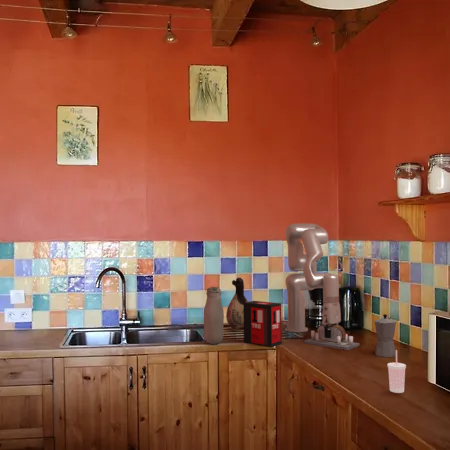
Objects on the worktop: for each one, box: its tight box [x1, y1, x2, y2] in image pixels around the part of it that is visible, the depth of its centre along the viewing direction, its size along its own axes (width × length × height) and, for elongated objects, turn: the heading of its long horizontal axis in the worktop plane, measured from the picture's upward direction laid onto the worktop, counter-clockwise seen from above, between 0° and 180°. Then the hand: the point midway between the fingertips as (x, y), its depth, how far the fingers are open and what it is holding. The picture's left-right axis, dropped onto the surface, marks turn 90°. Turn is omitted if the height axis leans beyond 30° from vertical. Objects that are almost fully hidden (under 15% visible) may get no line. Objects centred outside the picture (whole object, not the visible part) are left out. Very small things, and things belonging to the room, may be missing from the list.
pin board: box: [304, 330, 360, 351], centre depth 250 cm, size 24×12×5 cm, turn 47°
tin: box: [316, 324, 347, 343], centre depth 250 cm, size 15×3×8 cm, turn 47°
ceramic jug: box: [225, 277, 249, 333], centre depth 288 cm, size 17×15×30 cm
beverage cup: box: [387, 349, 407, 394], centre depth 177 cm, size 6×6×14 cm
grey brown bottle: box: [203, 286, 225, 345], centre depth 254 cm, size 10×10×28 cm
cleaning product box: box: [243, 300, 283, 348], centre depth 254 cm, size 16×9×20 cm, turn 51°
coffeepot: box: [374, 314, 397, 358], centre depth 229 cm, size 15×9×18 cm, turn 150°
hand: (331, 336), depth 250 cm, fingers open, 6 cm apart
